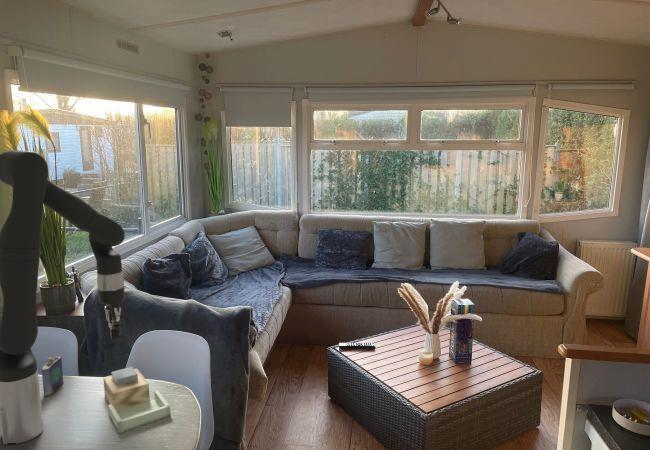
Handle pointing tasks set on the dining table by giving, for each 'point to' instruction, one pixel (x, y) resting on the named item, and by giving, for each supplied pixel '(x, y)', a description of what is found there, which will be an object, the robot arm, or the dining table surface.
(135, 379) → the tile
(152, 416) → the tray
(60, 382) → the flask
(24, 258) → the robot arm
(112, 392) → the cardboard box
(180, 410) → the dining table surface
